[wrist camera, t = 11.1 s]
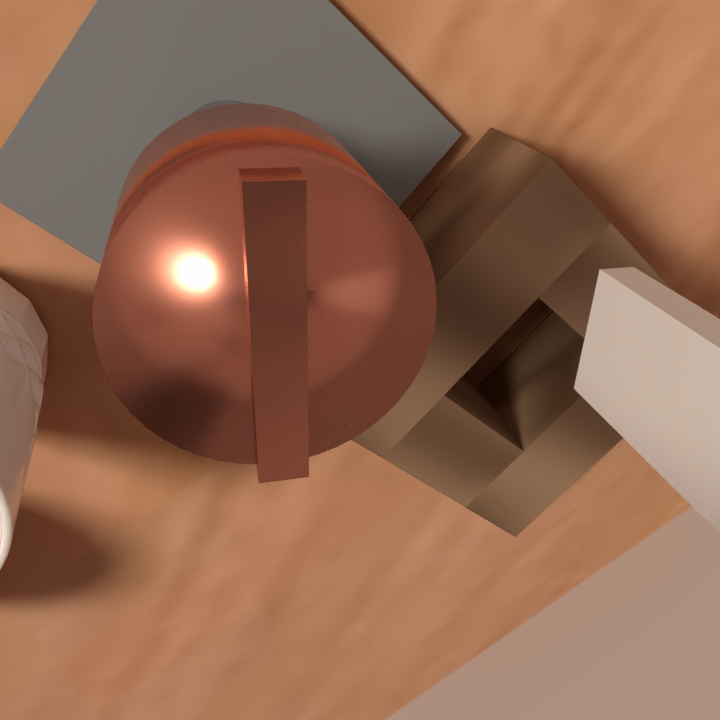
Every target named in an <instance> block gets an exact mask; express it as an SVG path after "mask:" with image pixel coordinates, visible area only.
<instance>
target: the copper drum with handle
mask: <svg viewBox="0 0 720 720" xmlns="http://www.w3.org/2000/svg"><path fill="white" fill-rule="evenodd" d="M436 309H437V294H436V285H435V277H434V273H433V269H432V266H431V262H430V258H429V256H428V254H427V251H426V249H425V246H424V244H423V242H422V240H421V238H420V236H419V235H418V233H417V231H416V230H415V228H414V226H413V225H412V223H411V222H410V221H409V219H408V218H407V217H406V216H405V215H404V213H403V212H402V211H401V210H400V209H399V207H398V206H397V205H396V204H395V203H394V202H393V201H392V200H391V198H390V197H389V196H388V195H387V194H386V193H385V192H384V191H383V190H382V188H381V187H380V186H379V185H378V184H377V183H376V182H375V181H374V180H373V179H372V177H371V176H370V175H369V174H368V173H367V172H366V171H365V170H364V169H363V167H362V166H361V165H360V164H359V163H358V162H357V161H356V160H355V159H354V158H353V156H352V155H351V154H350V153H349V152H348V151H347V150H346V149H345V148H344V147H343V145H342V144H341V143H340V142H339V141H337V140H336V139H335V138H334V137H333V136H332V135H331V134H330V133H329V132H327V131H326V130H325V129H323V128H322V127H320V126H319V125H317V124H316V123H314V122H313V121H311V120H309V119H307V118H305V117H303V116H301V115H299V114H297V113H294V112H291V111H288V110H285V109H282V108H279V107H274V106H269V105H264V104H251V103H244V102H240V101H234V100H222V101H215V102H211V103H208V104H206V105H203V106H202V107H200V108H198V109H196V110H195V111H194V112H192V113H191V114H190V115H188V116H186V117H185V118H183V119H181V120H179V121H177V122H175V123H173V124H172V125H171V126H169V127H168V128H167V129H165V130H164V131H163V132H161V133H160V134H158V135H157V136H156V137H155V138H154V139H153V140H152V141H151V142H150V143H149V144H148V145H147V146H146V147H145V149H144V150H143V151H142V153H141V154H140V155H139V157H138V158H137V159H136V161H135V162H134V164H133V166H132V168H131V169H130V171H129V173H128V175H127V177H126V179H125V182H124V185H123V187H122V190H121V193H120V196H119V200H118V204H117V208H116V211H115V215H114V219H113V222H112V226H111V230H110V233H109V237H108V241H107V245H106V248H105V252H104V256H103V259H102V263H101V267H100V271H99V274H98V278H97V283H96V288H95V293H94V298H93V312H92V325H93V334H94V343H95V347H96V350H97V354H98V358H99V361H100V364H101V366H102V369H103V371H104V373H105V375H106V378H107V380H108V382H109V384H110V385H111V387H112V388H113V390H114V391H115V393H116V395H117V396H118V398H119V399H120V400H121V402H122V403H123V404H124V405H125V406H126V407H127V409H128V410H129V411H130V412H131V413H132V414H133V415H134V416H135V417H136V418H137V419H138V420H139V421H140V422H141V423H143V424H144V425H145V426H146V427H147V428H148V429H150V430H151V431H153V432H154V433H156V434H157V435H159V436H160V437H161V438H163V439H164V440H166V441H168V442H170V443H172V444H174V445H176V446H178V447H180V448H182V449H184V450H187V451H190V452H192V453H195V454H198V455H200V456H204V457H208V458H212V459H216V460H220V461H226V462H233V463H242V464H256V466H257V473H258V479H259V483H264V482H272V481H280V480H288V479H296V478H304V477H309V457H310V456H313V455H317V454H320V453H322V452H325V451H327V450H330V449H333V448H335V447H337V446H339V445H341V444H343V443H345V442H347V441H349V440H351V439H353V438H355V437H356V436H358V435H359V434H361V433H362V432H364V431H365V430H367V429H368V428H370V427H371V426H372V425H374V424H375V423H376V422H377V421H378V420H380V419H381V418H382V417H383V416H385V415H386V414H387V413H388V412H389V411H390V410H391V409H392V408H393V406H394V405H395V404H396V403H397V402H398V401H399V400H400V399H401V397H402V396H403V395H404V394H405V392H406V391H407V390H408V389H409V387H410V386H411V384H412V382H413V381H414V379H415V378H416V376H417V374H418V373H419V371H420V369H421V367H422V365H423V362H424V360H425V358H426V356H427V353H428V350H429V347H430V344H431V341H432V337H433V333H434V327H435V321H436Z"/></svg>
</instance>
